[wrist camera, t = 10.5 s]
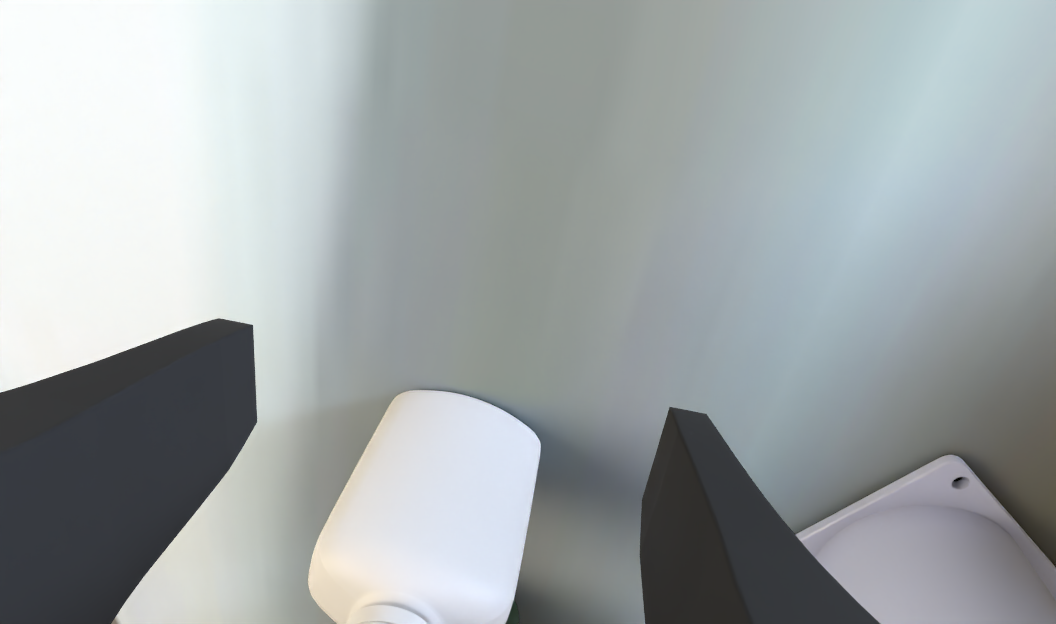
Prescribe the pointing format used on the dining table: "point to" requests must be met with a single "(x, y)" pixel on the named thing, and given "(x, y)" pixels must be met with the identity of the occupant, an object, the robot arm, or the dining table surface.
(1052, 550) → the dining table surface
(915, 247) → the dining table surface
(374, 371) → the dining table surface
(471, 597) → the eye dropper bottle
